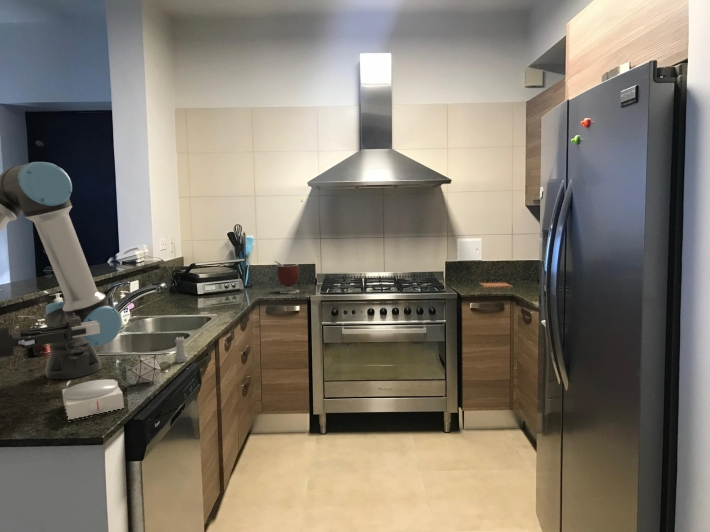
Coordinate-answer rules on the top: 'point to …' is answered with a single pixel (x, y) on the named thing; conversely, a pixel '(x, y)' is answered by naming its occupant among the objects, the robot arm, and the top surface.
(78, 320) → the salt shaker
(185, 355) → the rook chess piece
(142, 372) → the game die
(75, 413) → the kitchen scale
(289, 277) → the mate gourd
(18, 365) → the top surface
